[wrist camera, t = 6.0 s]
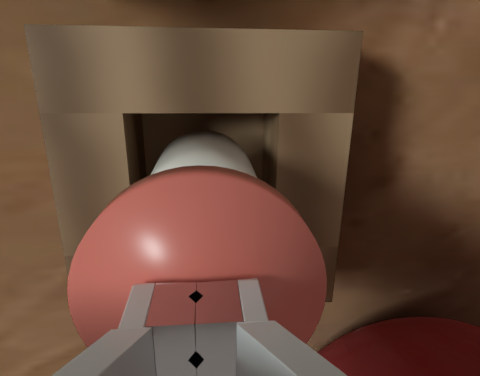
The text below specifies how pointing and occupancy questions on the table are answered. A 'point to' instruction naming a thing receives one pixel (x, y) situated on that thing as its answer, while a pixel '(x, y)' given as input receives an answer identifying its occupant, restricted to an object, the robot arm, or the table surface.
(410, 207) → the table surface
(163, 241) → the call button plunger
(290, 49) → the base
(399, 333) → the mixing bowl
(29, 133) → the table surface
